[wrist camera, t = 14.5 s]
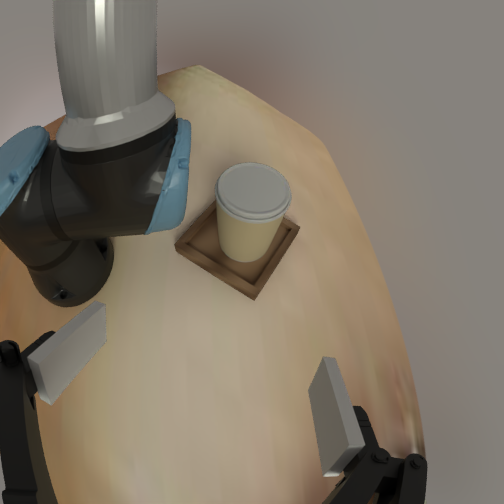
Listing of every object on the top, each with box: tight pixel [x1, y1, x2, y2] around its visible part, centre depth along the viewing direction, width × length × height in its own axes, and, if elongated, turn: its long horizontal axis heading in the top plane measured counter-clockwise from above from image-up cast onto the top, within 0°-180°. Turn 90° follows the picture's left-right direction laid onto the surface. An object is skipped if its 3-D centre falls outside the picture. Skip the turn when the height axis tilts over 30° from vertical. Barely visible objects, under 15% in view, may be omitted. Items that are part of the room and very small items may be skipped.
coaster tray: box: [175, 200, 300, 300], centre depth 43 cm, size 14×14×2 cm
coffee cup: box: [215, 162, 291, 262], centre depth 38 cm, size 9×9×12 cm
